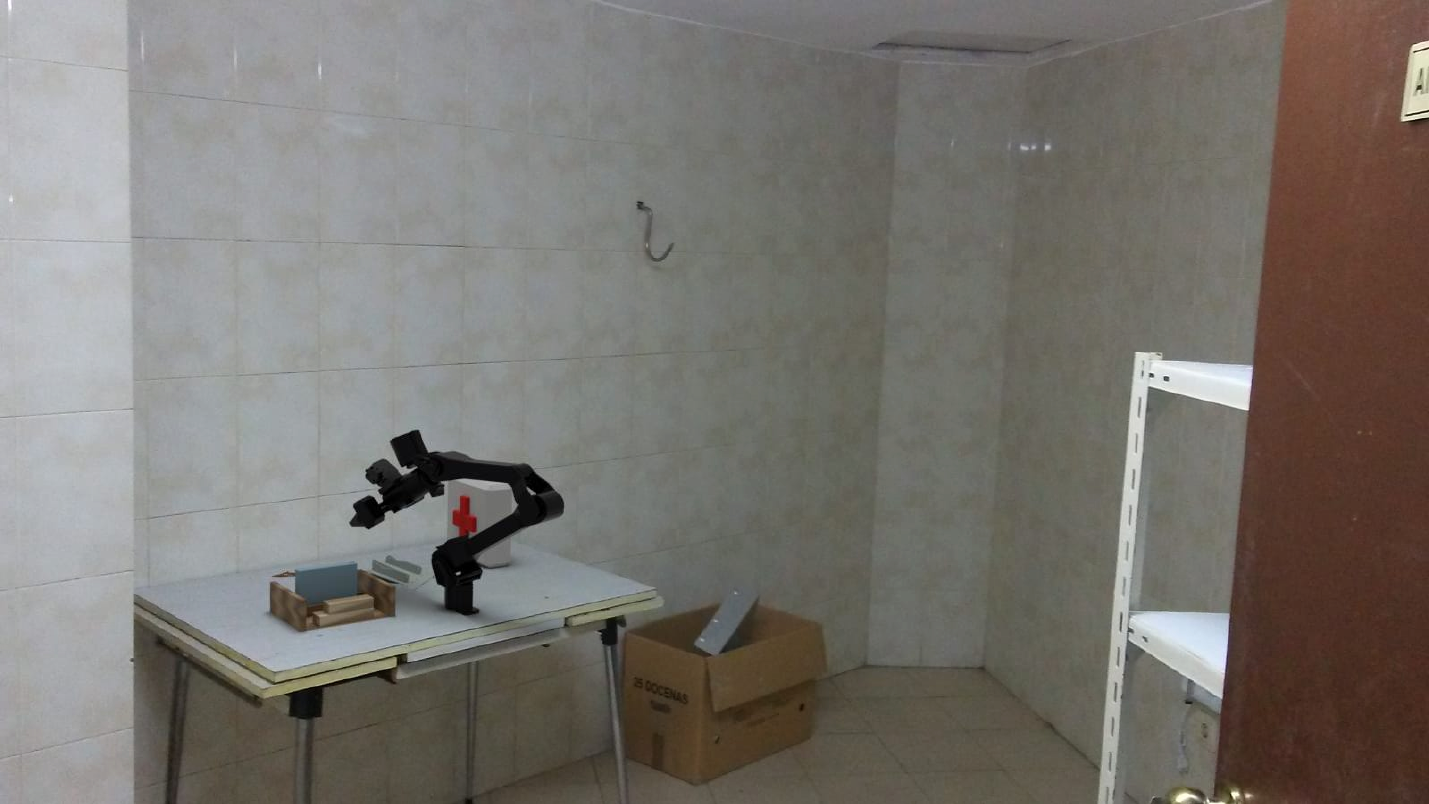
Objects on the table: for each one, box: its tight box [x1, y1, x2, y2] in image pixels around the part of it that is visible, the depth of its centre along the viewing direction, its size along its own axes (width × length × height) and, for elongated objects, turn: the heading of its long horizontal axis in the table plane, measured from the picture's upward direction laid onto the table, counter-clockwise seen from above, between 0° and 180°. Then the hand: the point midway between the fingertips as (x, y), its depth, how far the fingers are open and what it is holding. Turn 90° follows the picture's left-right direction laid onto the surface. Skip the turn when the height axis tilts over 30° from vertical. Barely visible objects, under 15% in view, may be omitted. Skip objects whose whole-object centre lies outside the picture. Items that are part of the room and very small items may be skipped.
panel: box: [294, 560, 358, 605], centre depth 235 cm, size 2×12×9 cm, turn 131°
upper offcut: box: [323, 594, 374, 615], centre depth 229 cm, size 3×9×2 cm, turn 131°
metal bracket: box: [364, 554, 435, 592], centre depth 262 cm, size 14×6×15 cm
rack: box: [269, 568, 397, 633], centre depth 233 cm, size 16×19×7 cm
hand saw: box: [271, 570, 295, 578], centre depth 255 cm, size 24×5×1 cm, turn 159°
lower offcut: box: [312, 608, 374, 627], centre depth 229 cm, size 4×11×2 cm, turn 131°
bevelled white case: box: [446, 479, 513, 569], centre depth 284 cm, size 21×8×20 cm, turn 40°
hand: (364, 517), depth 251 cm, fingers open, 9 cm apart
